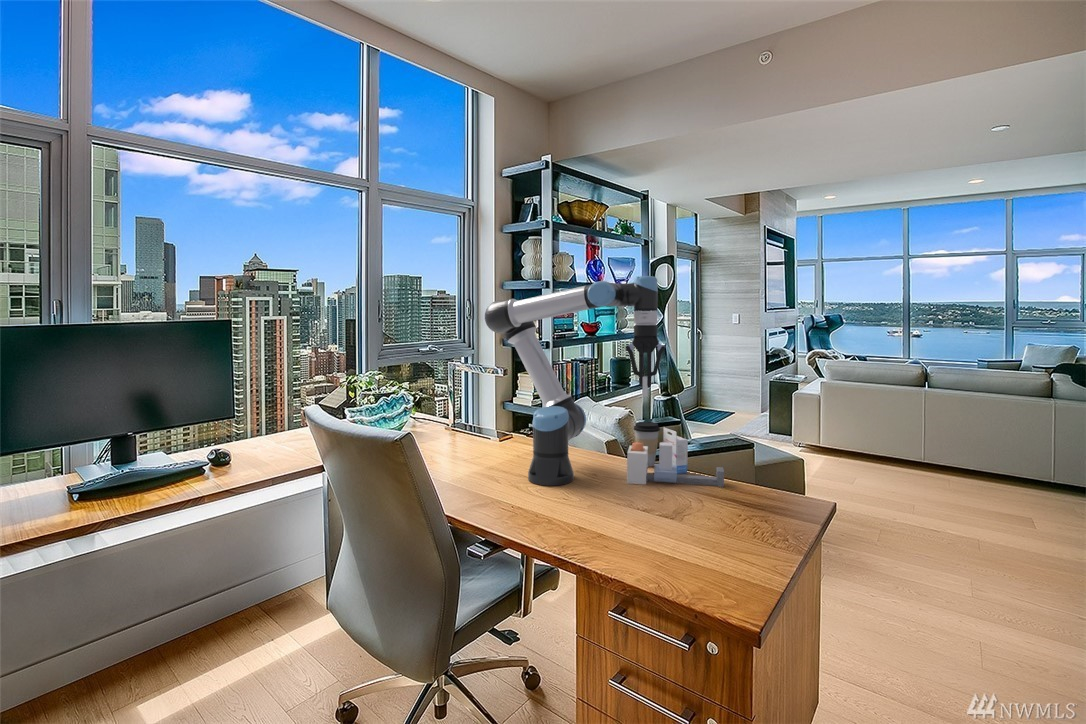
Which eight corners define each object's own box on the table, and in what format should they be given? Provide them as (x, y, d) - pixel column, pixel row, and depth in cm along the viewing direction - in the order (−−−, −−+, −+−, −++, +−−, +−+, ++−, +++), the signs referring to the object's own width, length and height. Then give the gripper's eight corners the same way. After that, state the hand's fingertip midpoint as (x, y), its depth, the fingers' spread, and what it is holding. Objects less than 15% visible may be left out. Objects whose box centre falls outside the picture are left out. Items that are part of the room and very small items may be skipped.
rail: (646, 482, 175) (646, 467, 175) (647, 477, 180) (647, 462, 180) (723, 487, 170) (724, 471, 169) (722, 482, 175) (722, 467, 174)
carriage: (653, 482, 173) (654, 446, 172) (654, 474, 182) (655, 440, 181) (676, 483, 171) (677, 448, 170) (676, 475, 180) (676, 441, 179)
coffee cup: (658, 461, 200) (658, 421, 198) (661, 468, 190) (661, 426, 189) (632, 460, 201) (632, 421, 199) (633, 468, 191) (634, 426, 190)
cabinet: (627, 483, 174) (627, 452, 174) (629, 474, 184) (629, 445, 183) (645, 484, 173) (646, 453, 172) (647, 475, 183) (647, 446, 182)
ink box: (688, 473, 185) (688, 430, 184) (675, 474, 184) (676, 431, 182) (673, 466, 193) (674, 425, 192) (661, 467, 191) (662, 426, 190)
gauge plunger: (631, 456, 177) (631, 444, 176) (632, 453, 180) (632, 442, 180) (642, 457, 176) (643, 445, 175) (643, 454, 179) (643, 442, 179)
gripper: (624, 324, 173) (623, 397, 176) (665, 324, 170) (664, 398, 172) (626, 324, 181) (626, 394, 183) (666, 324, 177) (665, 395, 179)
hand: (645, 396), depth 177 cm, fingers closed
